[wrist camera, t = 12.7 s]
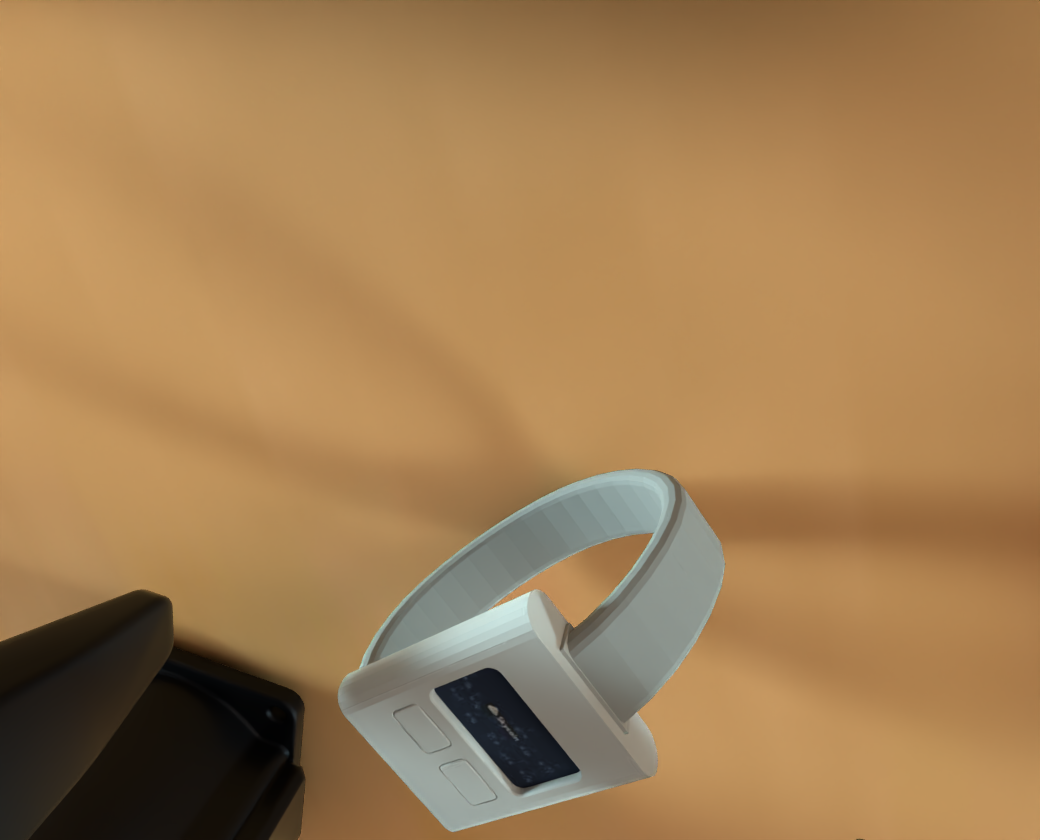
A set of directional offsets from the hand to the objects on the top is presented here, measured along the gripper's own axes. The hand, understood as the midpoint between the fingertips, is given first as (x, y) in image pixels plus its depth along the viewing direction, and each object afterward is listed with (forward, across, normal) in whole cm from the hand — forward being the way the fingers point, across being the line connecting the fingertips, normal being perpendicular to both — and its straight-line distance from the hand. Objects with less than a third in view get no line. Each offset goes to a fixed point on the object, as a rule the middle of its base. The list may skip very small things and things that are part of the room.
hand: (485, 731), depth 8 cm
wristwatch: (+5, 0, 0) cm, 5 cm away
